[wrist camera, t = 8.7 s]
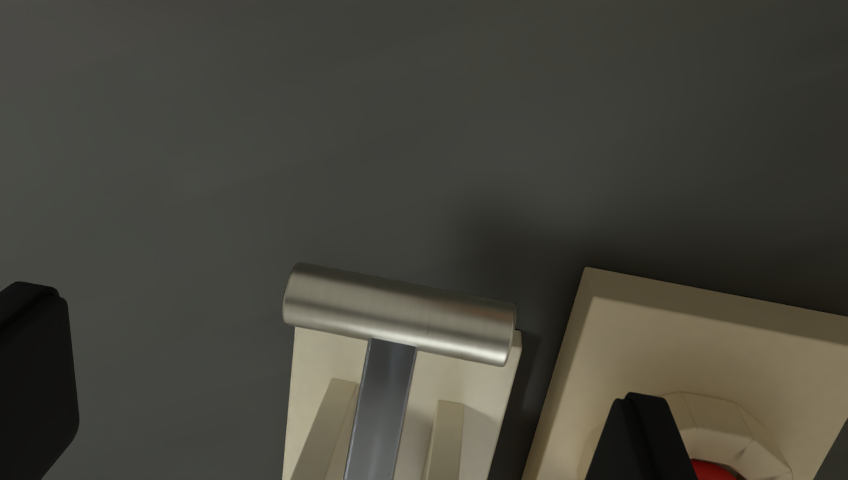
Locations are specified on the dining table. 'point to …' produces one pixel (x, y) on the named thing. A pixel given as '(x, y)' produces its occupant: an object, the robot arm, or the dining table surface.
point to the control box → (696, 377)
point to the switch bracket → (425, 417)
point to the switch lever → (393, 345)
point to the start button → (710, 471)
